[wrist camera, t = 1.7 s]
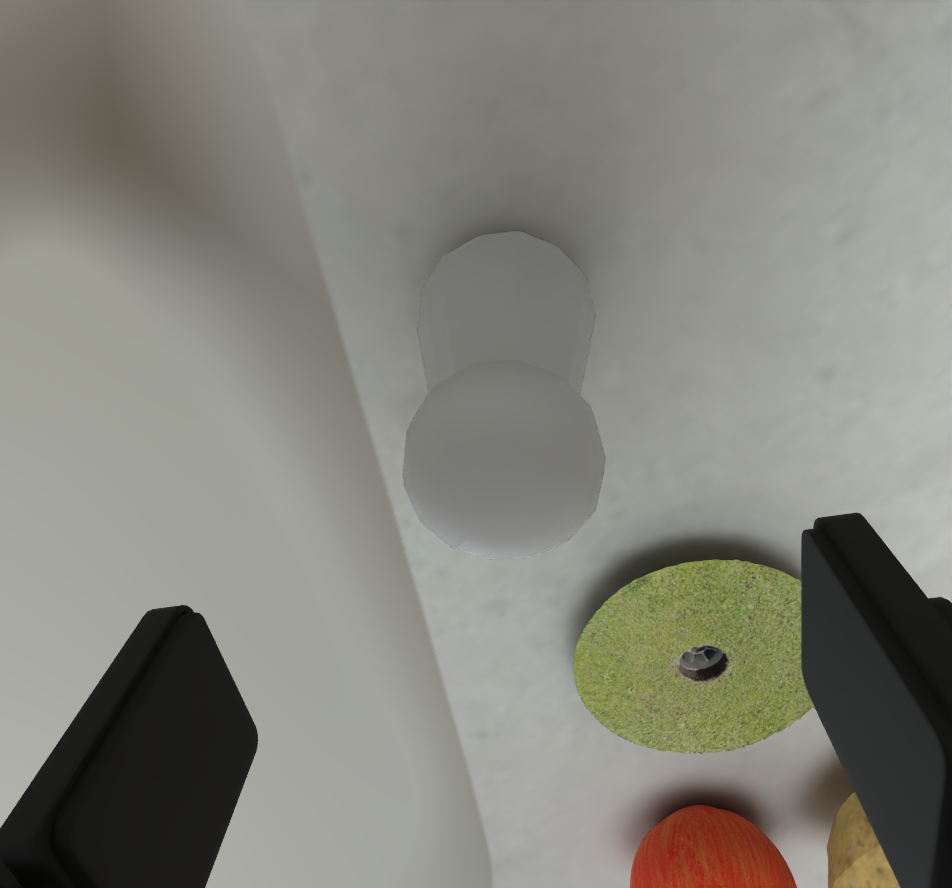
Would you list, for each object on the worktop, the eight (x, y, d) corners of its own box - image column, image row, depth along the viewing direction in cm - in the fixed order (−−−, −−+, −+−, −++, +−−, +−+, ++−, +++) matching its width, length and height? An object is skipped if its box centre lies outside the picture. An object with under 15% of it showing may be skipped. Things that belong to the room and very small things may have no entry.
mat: (535, 576, 32) (537, 606, 30) (797, 499, 29) (815, 527, 27) (612, 742, 36) (617, 777, 35) (843, 688, 34) (860, 722, 32)
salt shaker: (402, 247, 25) (309, 404, 14) (561, 192, 24) (607, 314, 13) (457, 394, 28) (420, 631, 16) (604, 351, 26) (675, 571, 15)
